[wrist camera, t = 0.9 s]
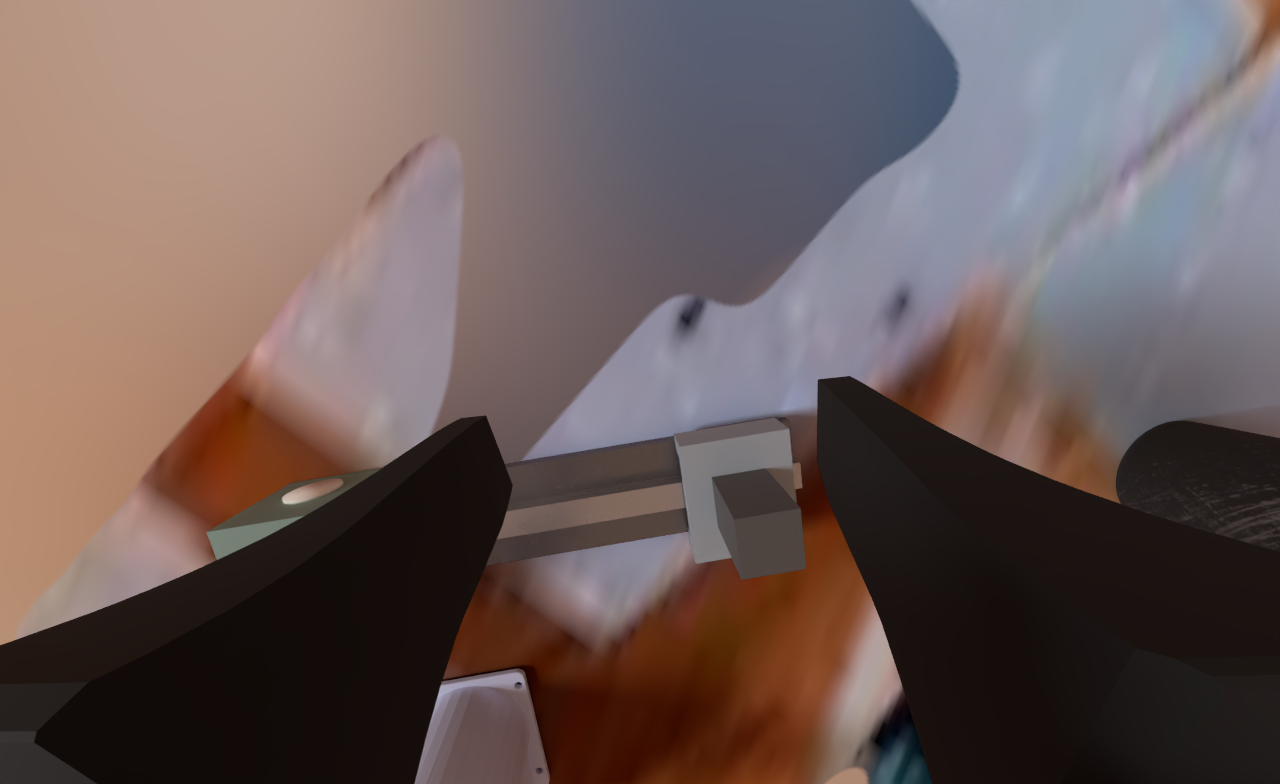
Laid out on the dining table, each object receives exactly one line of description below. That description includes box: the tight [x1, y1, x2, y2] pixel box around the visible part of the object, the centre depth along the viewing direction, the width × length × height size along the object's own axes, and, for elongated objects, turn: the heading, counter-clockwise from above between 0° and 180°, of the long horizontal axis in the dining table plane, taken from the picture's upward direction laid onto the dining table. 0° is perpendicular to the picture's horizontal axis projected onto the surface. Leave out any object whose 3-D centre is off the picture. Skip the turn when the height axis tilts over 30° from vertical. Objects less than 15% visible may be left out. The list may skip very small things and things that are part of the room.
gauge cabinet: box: [207, 468, 382, 560], centre depth 26 cm, size 8×6×6 cm
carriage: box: [674, 418, 806, 580], centre depth 25 cm, size 7×6×7 cm
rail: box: [486, 418, 802, 566], centre depth 29 cm, size 6×23×2 cm, turn 99°
